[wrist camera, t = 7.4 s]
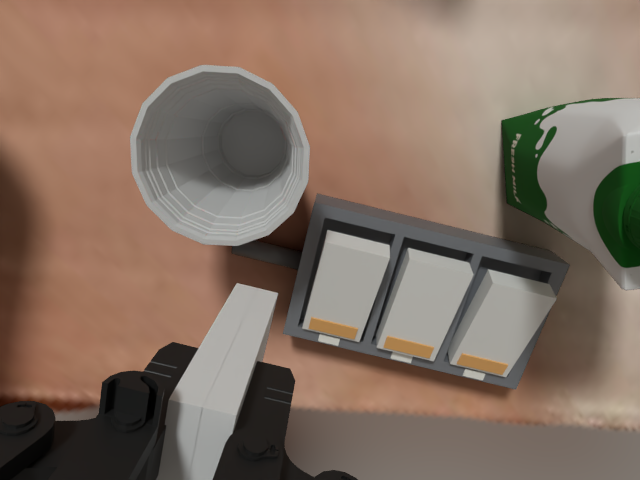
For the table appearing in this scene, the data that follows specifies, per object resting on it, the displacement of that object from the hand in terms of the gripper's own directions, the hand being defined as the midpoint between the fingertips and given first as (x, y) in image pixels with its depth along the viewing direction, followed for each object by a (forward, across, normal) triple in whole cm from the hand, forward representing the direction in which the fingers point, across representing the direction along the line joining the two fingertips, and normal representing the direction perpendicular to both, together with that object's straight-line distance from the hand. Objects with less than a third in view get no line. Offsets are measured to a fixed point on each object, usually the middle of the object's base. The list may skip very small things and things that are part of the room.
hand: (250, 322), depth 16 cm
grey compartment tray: (+24, +8, -6) cm, 27 cm away
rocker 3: (+21, +18, -6) cm, 28 cm away
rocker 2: (+21, +12, -6) cm, 25 cm away
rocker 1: (+21, +5, -6) cm, 22 cm away
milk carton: (+25, +19, +8) cm, 32 cm away
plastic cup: (+25, -5, +3) cm, 25 cm away
